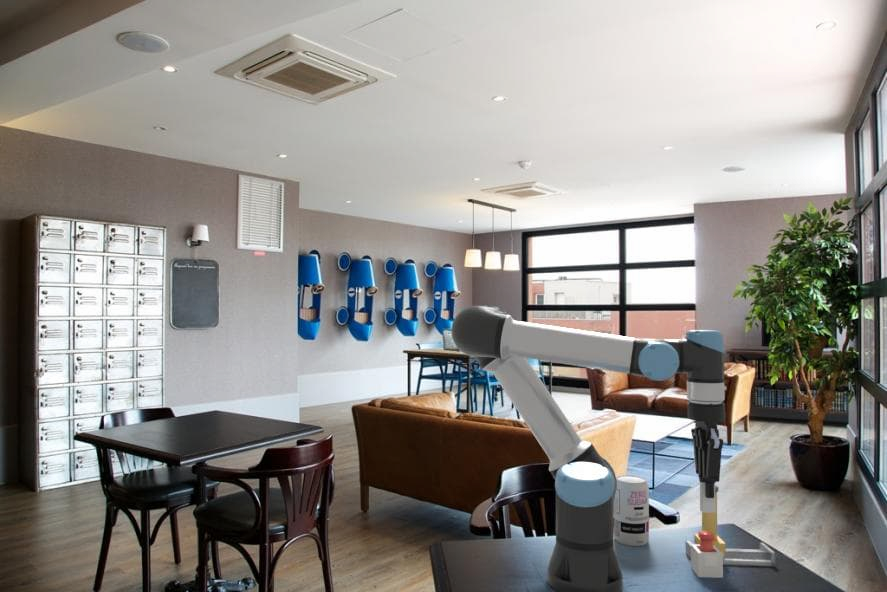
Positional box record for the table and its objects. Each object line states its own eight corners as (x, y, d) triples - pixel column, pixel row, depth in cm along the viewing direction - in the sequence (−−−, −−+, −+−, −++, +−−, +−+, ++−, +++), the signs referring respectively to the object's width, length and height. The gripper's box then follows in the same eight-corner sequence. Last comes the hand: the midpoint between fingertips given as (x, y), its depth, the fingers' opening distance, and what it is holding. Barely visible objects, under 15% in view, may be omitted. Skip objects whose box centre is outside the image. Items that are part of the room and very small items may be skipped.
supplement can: (626, 532, 158) (626, 472, 158) (655, 542, 152) (655, 479, 152) (606, 539, 153) (606, 478, 153) (635, 549, 147) (635, 485, 147)
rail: (694, 563, 139) (693, 550, 139) (685, 553, 145) (685, 540, 145) (775, 566, 137) (775, 552, 137) (763, 555, 143) (763, 542, 143)
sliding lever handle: (702, 557, 139) (702, 489, 139) (694, 547, 144) (694, 482, 145) (725, 558, 138) (725, 489, 139) (716, 548, 144) (716, 483, 144)
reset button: (701, 558, 133) (701, 535, 133) (696, 552, 136) (696, 530, 136) (716, 559, 132) (716, 536, 132) (711, 553, 136) (711, 531, 136)
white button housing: (698, 577, 131) (698, 553, 132) (690, 567, 137) (690, 544, 137) (723, 578, 131) (723, 554, 131) (714, 568, 136) (714, 544, 136)
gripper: (735, 405, 128) (737, 522, 127) (713, 397, 141) (714, 502, 140) (698, 405, 129) (700, 521, 128) (678, 397, 142) (680, 502, 141)
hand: (707, 511), depth 134 cm, fingers closed
